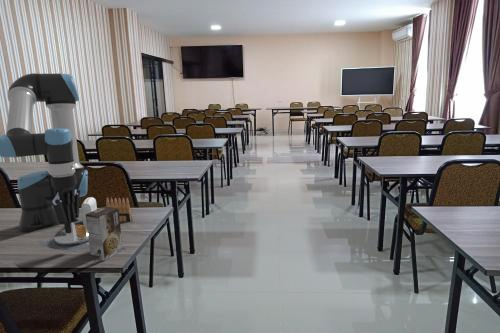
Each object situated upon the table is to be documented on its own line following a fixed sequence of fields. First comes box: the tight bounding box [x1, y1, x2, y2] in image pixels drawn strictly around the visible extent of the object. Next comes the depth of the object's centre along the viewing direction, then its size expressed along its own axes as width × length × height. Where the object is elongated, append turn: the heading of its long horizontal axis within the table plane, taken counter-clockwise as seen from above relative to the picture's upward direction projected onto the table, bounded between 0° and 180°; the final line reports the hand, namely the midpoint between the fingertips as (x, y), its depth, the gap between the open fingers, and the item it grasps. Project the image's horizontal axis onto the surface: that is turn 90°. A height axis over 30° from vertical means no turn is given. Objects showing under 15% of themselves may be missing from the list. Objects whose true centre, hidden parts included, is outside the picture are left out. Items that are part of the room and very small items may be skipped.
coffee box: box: [86, 205, 124, 262], centre depth 119 cm, size 9×6×16 cm
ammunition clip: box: [106, 197, 133, 224], centre depth 148 cm, size 11×2×12 cm, turn 85°
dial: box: [53, 223, 89, 246], centre depth 130 cm, size 14×14×6 cm
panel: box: [38, 237, 90, 252], centre depth 131 cm, size 18×17×2 cm
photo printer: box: [81, 196, 98, 226], centre depth 146 cm, size 10×4×12 cm, turn 11°
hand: (72, 240), depth 119 cm, fingers closed
